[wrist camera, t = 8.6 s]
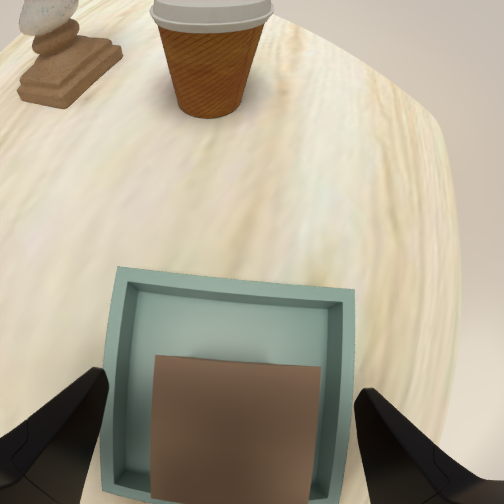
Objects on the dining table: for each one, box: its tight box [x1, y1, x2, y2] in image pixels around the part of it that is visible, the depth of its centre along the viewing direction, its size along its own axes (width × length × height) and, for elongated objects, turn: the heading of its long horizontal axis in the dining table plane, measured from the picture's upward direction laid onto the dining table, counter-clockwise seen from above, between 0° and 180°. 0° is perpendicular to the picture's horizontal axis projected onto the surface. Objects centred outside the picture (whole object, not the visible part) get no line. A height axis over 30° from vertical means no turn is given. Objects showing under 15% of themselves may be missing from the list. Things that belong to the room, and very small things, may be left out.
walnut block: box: [150, 355, 321, 504], centre depth 12 cm, size 5×5×10 cm
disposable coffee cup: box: [150, 0, 274, 118], centre depth 20 cm, size 10×10×12 cm
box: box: [100, 266, 355, 504], centre depth 15 cm, size 14×14×4 cm
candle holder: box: [17, 0, 123, 109], centre depth 15 cm, size 11×11×24 cm
